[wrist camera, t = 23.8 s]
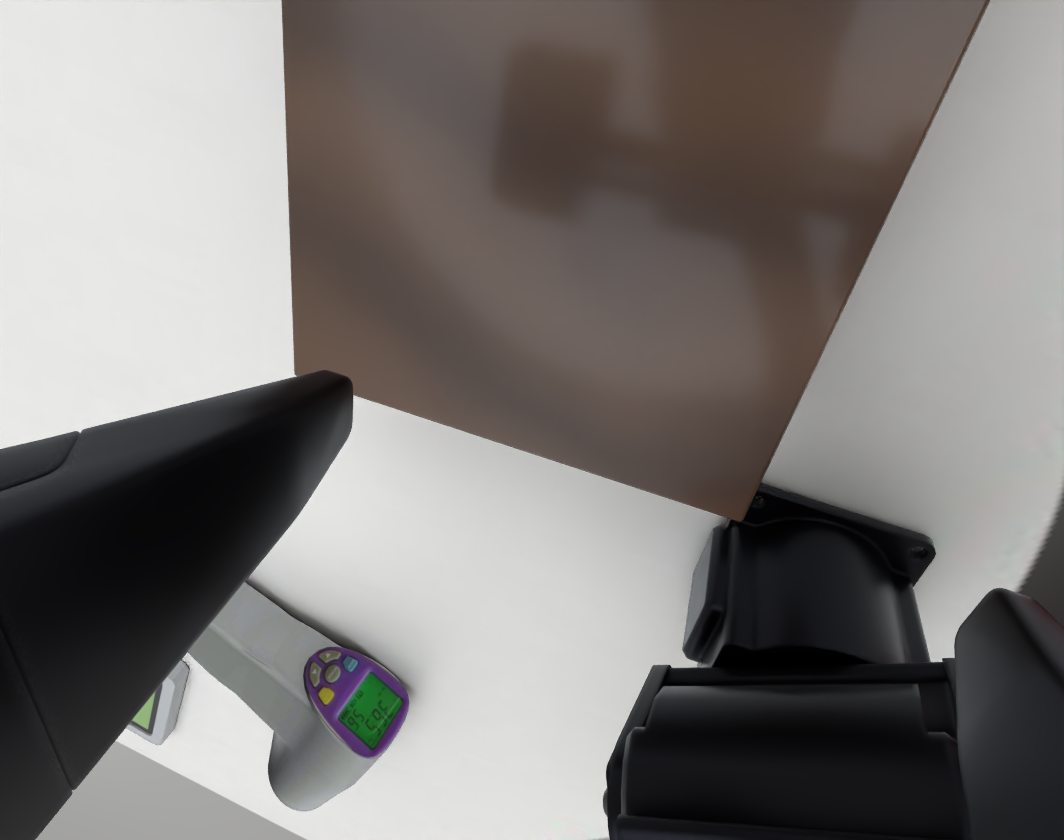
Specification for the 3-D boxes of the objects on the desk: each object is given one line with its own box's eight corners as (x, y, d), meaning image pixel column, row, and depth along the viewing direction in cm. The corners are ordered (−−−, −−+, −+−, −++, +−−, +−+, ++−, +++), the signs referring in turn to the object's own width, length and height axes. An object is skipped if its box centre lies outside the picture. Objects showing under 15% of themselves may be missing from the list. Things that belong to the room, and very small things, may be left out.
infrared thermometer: (200, 522, 36) (427, 689, 36) (164, 631, 43) (353, 770, 43) (129, 578, 32) (381, 765, 32) (102, 687, 39) (309, 840, 39)
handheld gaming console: (-41, 561, 41) (172, 685, 41) (-16, 544, 42) (190, 665, 43) (-30, 643, 47) (156, 752, 47) (-8, 626, 48) (173, 732, 48)
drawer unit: (441, -337, 15) (260, -520, 10) (1025, -253, 13) (1194, -424, 8) (400, 293, 24) (293, 376, 19) (749, 397, 22) (741, 524, 17)
